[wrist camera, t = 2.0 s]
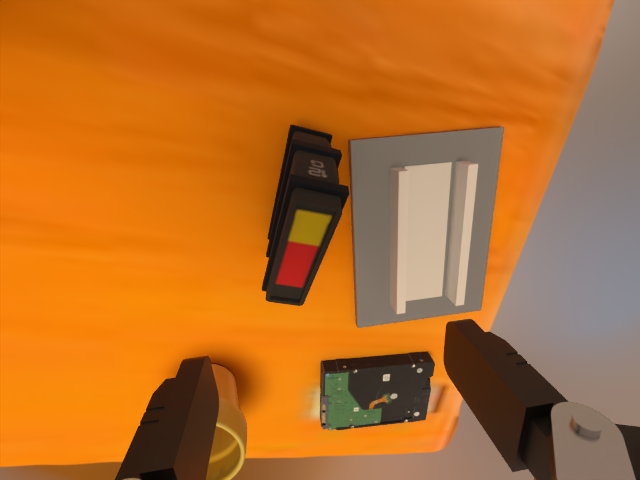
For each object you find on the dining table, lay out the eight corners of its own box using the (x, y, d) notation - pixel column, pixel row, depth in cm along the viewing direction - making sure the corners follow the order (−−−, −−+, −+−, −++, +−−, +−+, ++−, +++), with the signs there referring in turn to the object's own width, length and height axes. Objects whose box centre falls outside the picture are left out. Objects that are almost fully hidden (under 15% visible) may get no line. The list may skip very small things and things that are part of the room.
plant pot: (268, 385, 42) (266, 458, 33) (207, 426, 43) (190, 508, 34) (212, 335, 38) (193, 402, 29) (148, 382, 40) (110, 460, 31)
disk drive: (426, 346, 44) (318, 358, 42) (435, 361, 42) (321, 373, 40) (418, 404, 48) (319, 417, 46) (427, 420, 45) (322, 435, 43)
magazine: (337, 100, 30) (351, 205, 19) (303, 207, 39) (300, 319, 28) (296, 89, 29) (288, 193, 18) (272, 201, 38) (257, 314, 27)
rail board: (348, 139, 32) (356, 142, 29) (497, 126, 34) (521, 127, 31) (355, 323, 40) (362, 341, 37) (476, 305, 42) (493, 321, 39)
